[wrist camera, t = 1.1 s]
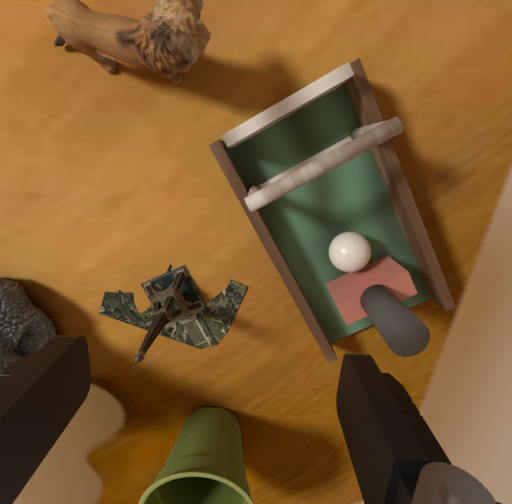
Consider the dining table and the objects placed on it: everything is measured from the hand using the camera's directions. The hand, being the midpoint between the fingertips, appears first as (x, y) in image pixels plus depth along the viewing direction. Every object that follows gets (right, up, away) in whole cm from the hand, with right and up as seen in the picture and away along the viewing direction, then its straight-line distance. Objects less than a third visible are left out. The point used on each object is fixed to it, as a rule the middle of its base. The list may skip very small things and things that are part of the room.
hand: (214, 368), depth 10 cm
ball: (+10, +4, +21) cm, 24 cm away
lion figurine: (-9, +22, +19) cm, 31 cm away
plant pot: (-4, -19, +32) cm, 38 cm away
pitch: (+9, +7, +24) cm, 26 cm away
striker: (+12, +1, +24) cm, 27 cm away
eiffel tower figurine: (-8, -1, +27) cm, 28 cm away
